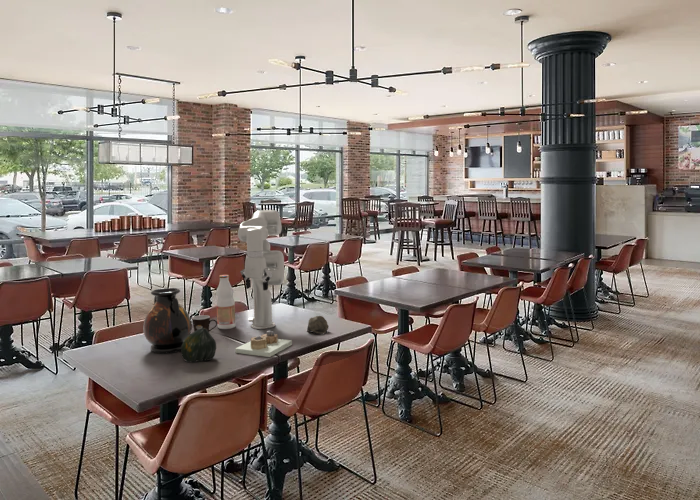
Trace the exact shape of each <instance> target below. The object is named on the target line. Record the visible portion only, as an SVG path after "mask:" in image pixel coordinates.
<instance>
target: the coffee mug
mask: <svg viewBox="0 0 700 500" xmlns="http://www.w3.org/2000/svg"><path fill="white" fill-rule="evenodd" d="M191 322H192V325H193V326H192V327H193V332H194V331H196V330H198V329H201V328H205V329H207V330H208V332H209V333H210V332H211V331H212V330H214V329H215V328H216V327H218V325H217V319H211V316H210V315H208V314H207V315H206V314H205V315H204V314H203V315H202V314H201V315H195V316H193V317H191ZM211 322H215V326H213V327H211V329H210V324H211Z"/></svg>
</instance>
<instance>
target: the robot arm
mask: <svg viewBox="0 0 700 500" xmlns="http://www.w3.org/2000/svg"><path fill="white" fill-rule="evenodd" d="M280 216H281V215H280V213H279V212H278V210H274V209H271V210H270V209H265V210H263V209H262V210H261V209H260V210H257V211H255V212H253V214H252V216H251V218H250V219H248V220H245V221H242V222H241V223H240V225H239V227H238V231H237V237H238V239H239V241H241V242H246V248H247V249H246V251H245V252H244V254H245V255H246V257H245V261H244V269H242V270H240V272H239V273H240V274H241V277H242V278H243V280H244V281H245V288H246V289H247V290H248V289H251V287H252V297H253V300H252V301H253V317H249V318H248V322H250V323H252V324H251V328H252V329H255V330H267V329H272V328H274V327H276V322H275V321H273V309H272V308H273V307H272V293H271V290H270V289H269V286H280V285H282V284H284V281H285V256H284V254H283V252H282V251H281V250H271V244H270V242H269V241H268V240H267V238H269V236H278V235H280V234H281V233H282V229H283V227H282V219H281V217H280Z"/></svg>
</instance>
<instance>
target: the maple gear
mask: <svg viewBox="0 0 700 500" xmlns="http://www.w3.org/2000/svg"><path fill="white" fill-rule="evenodd" d="M256 337H257V336H254V337H251V338H250V341H251V349H257V350H258V349H263V348H267V347H266V346H267V339H266V337H261V336H260V337H261V340H256Z"/></svg>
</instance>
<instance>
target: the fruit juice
mask: <svg viewBox="0 0 700 500" xmlns="http://www.w3.org/2000/svg"><path fill="white" fill-rule="evenodd" d="M218 277H219V284H218V286H217V288H216V291H215V295H216V298H217V299H216V304H215V305H216V306H215V307H216V317H217V318H216V321H217V329H220V330H230V329H234V328H235V327H236V311H235V310H236V308H235V306H236V305H235V304H236V303H235V298H234V293H235V291H234V288H233V287H232V285H231V283H230V281H229V279H230V275H229V274H220V275H219V276H218Z"/></svg>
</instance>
